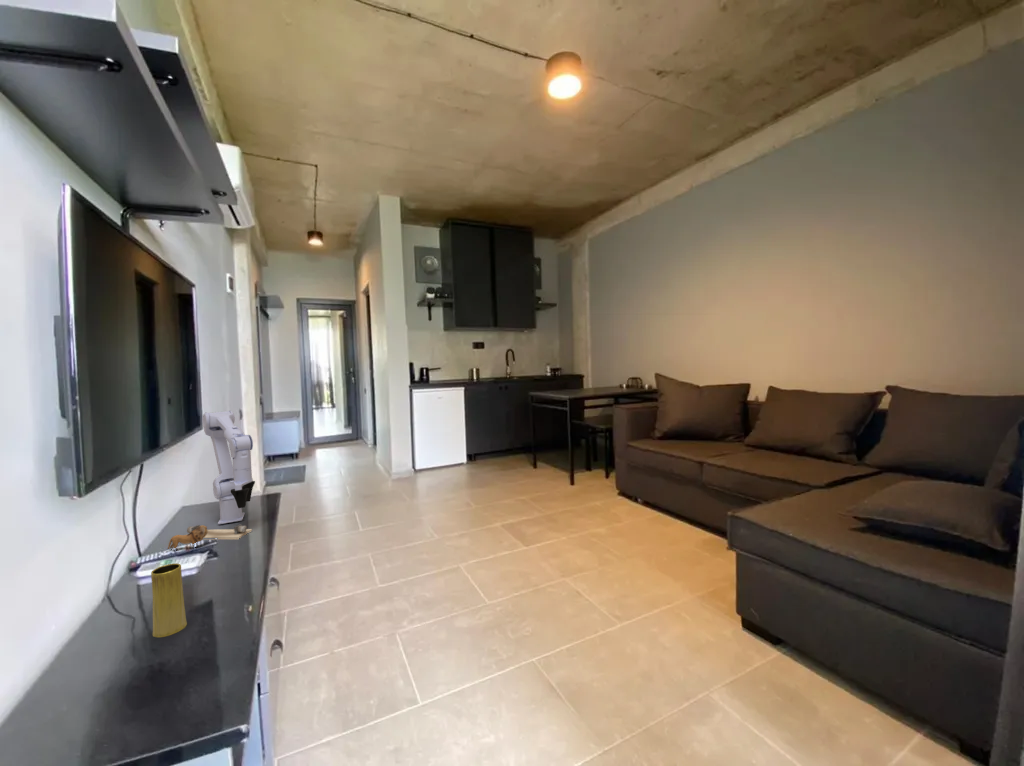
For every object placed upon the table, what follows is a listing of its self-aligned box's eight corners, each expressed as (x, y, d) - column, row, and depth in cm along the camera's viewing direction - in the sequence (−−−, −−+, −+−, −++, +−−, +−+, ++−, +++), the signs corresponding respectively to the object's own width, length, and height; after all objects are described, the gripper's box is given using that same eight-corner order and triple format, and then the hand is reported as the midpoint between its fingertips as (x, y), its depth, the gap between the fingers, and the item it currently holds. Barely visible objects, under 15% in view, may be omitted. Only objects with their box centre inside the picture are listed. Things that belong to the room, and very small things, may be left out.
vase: (145, 640, 92) (141, 576, 91) (163, 623, 98) (159, 564, 97) (177, 636, 93) (173, 573, 92) (192, 619, 99) (189, 560, 98)
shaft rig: (196, 532, 155) (196, 522, 154) (252, 531, 154) (251, 522, 153) (181, 540, 148) (180, 530, 147) (238, 539, 147) (238, 529, 146)
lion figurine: (209, 543, 144) (208, 522, 144) (207, 548, 140) (206, 526, 140) (164, 552, 138) (163, 530, 138) (162, 557, 134) (160, 534, 134)
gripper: (235, 465, 161) (236, 500, 161) (224, 474, 147) (226, 512, 148) (256, 463, 163) (257, 497, 164) (247, 471, 150) (249, 509, 150)
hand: (244, 504), depth 156 cm, fingers open, 7 cm apart
